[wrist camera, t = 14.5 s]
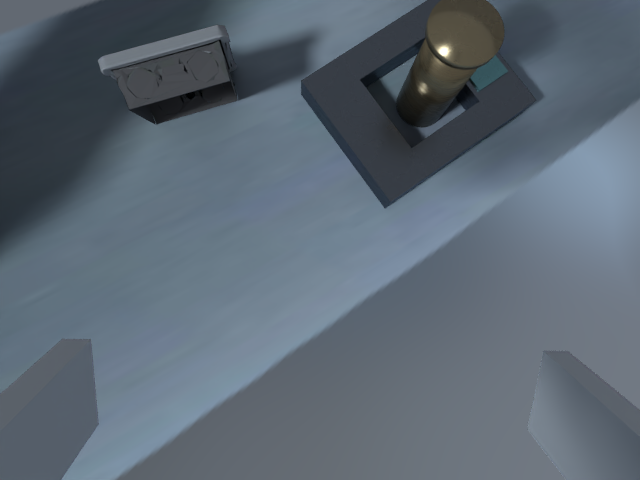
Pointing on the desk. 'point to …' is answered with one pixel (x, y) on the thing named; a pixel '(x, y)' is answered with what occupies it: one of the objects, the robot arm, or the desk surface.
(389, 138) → the rack plate
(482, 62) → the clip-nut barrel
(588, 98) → the desk surface
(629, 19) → the desk surface
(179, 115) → the electrical switch
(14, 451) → the robot arm
